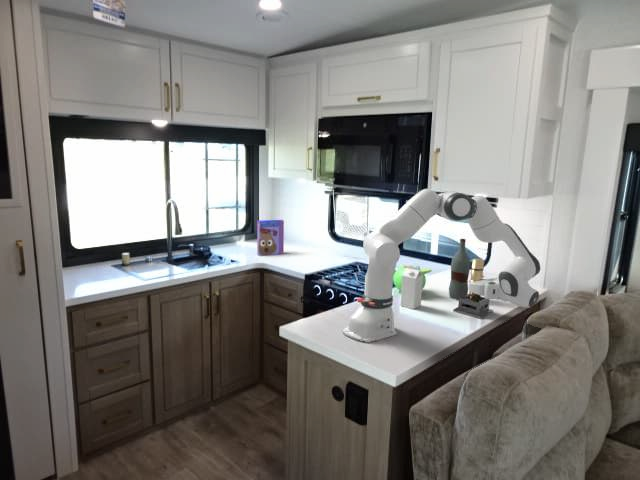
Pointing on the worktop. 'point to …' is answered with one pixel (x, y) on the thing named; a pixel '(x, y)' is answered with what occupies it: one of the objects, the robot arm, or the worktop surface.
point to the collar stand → (477, 312)
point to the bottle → (459, 273)
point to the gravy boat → (399, 272)
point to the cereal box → (270, 237)
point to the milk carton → (411, 287)
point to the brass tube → (476, 277)
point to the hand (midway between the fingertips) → (474, 280)
